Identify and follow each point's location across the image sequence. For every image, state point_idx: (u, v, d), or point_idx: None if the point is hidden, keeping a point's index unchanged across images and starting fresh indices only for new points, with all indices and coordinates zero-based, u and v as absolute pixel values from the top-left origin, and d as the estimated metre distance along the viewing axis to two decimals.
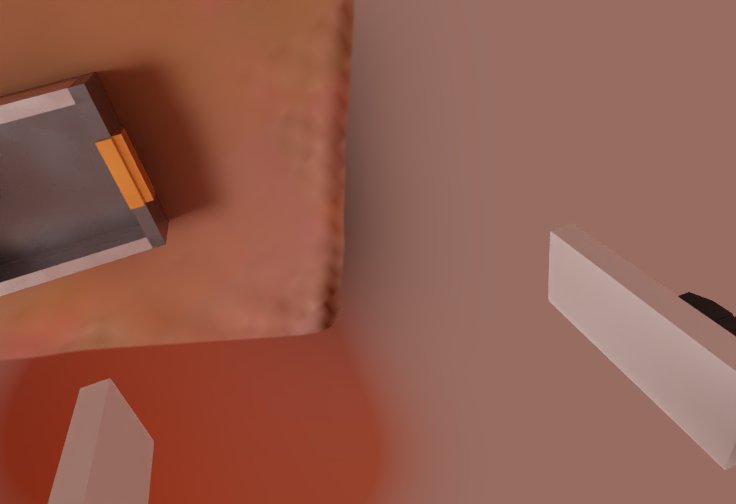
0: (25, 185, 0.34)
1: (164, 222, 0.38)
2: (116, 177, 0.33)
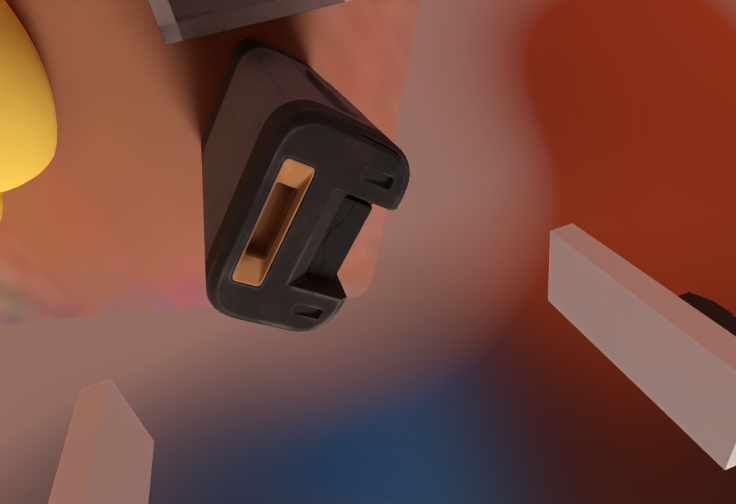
0: None
1: None
2: None
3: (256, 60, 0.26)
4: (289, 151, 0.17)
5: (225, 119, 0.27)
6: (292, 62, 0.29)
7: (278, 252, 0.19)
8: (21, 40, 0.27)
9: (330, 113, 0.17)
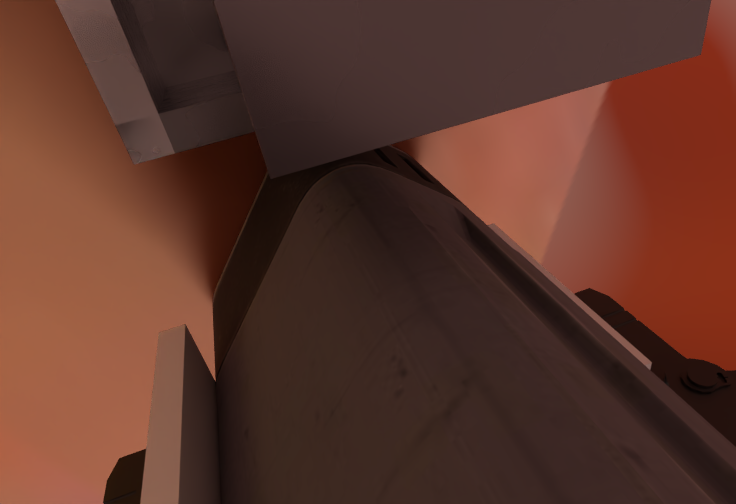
0: None
1: None
2: None
3: (370, 233, 0.10)
4: None
5: (282, 374, 0.10)
6: (428, 198, 0.12)
7: None
8: None
9: None
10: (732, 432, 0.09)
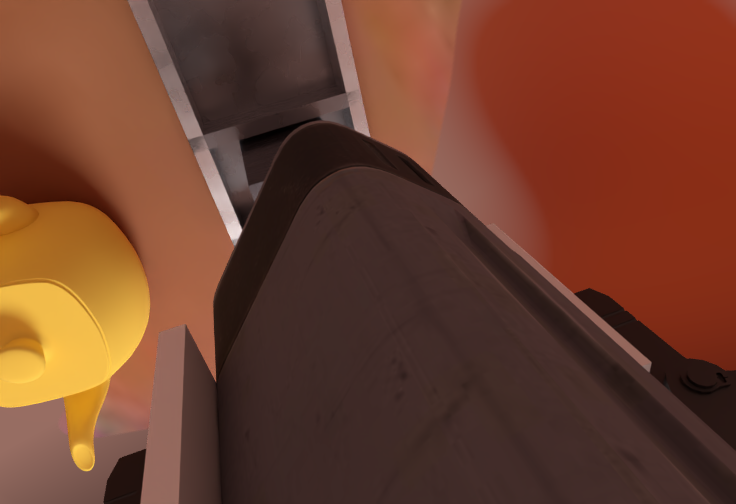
0: (241, 23, 0.32)
1: None
2: None
3: (370, 236, 0.10)
4: None
5: (283, 376, 0.10)
6: (428, 200, 0.13)
7: None
8: (130, 257, 0.36)
9: None
10: (731, 431, 0.09)
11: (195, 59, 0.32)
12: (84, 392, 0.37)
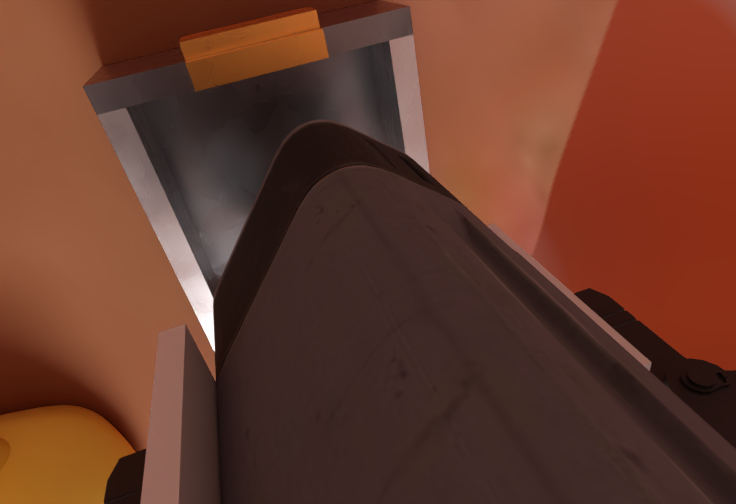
0: None
1: (374, 5, 0.20)
2: (262, 68, 0.18)
3: (370, 234, 0.10)
4: None
5: (282, 375, 0.10)
6: (428, 199, 0.12)
7: None
8: None
9: None
10: (731, 432, 0.09)
11: (227, 242, 0.24)
12: None
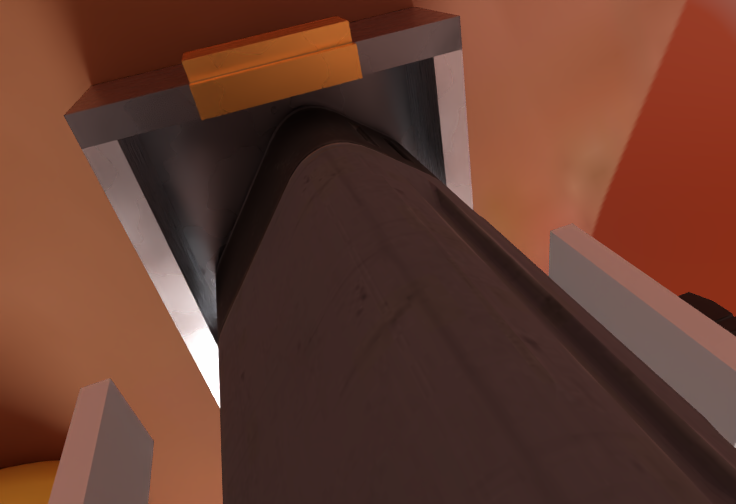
0: None
1: (412, 13, 0.17)
2: (283, 92, 0.15)
3: (346, 195, 0.11)
4: None
5: (272, 321, 0.12)
6: (404, 172, 0.14)
7: None
8: None
9: None
10: None
11: None
12: None
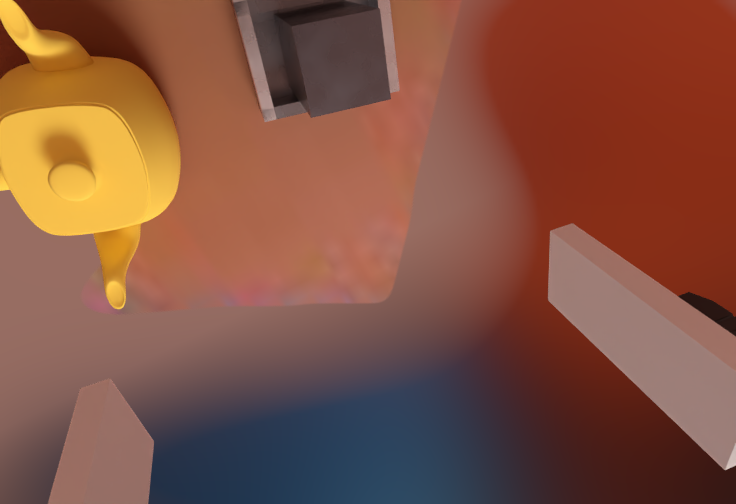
0: None
1: None
2: None
3: None
4: None
5: None
6: None
7: None
8: (169, 118, 0.39)
9: None
10: None
11: None
12: (117, 242, 0.40)
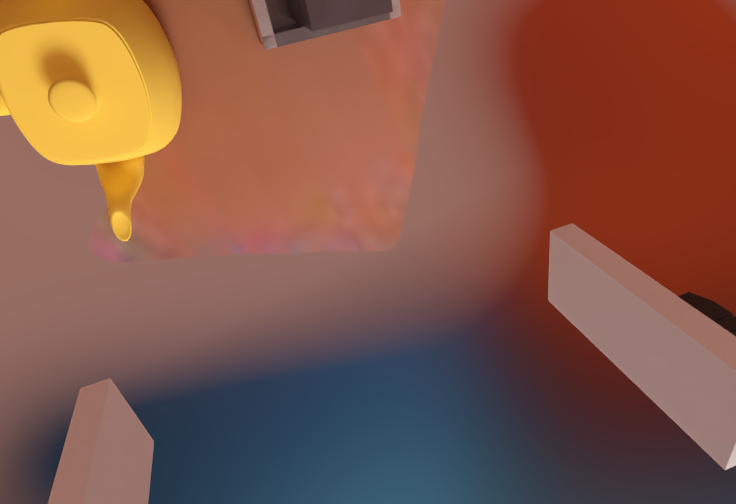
0: None
1: None
2: None
3: None
4: None
5: None
6: None
7: None
8: (168, 47, 0.39)
9: None
10: None
11: None
12: (121, 176, 0.40)
